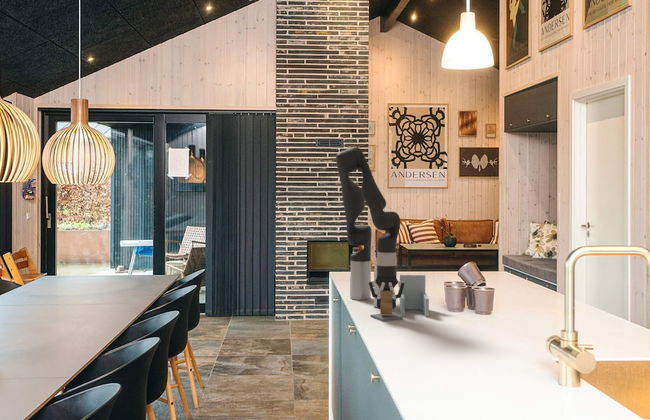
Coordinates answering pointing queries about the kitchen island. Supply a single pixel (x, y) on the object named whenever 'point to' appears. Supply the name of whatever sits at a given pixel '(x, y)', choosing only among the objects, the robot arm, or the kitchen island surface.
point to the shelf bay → (414, 294)
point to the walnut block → (386, 302)
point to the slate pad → (386, 317)
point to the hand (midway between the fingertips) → (386, 308)
